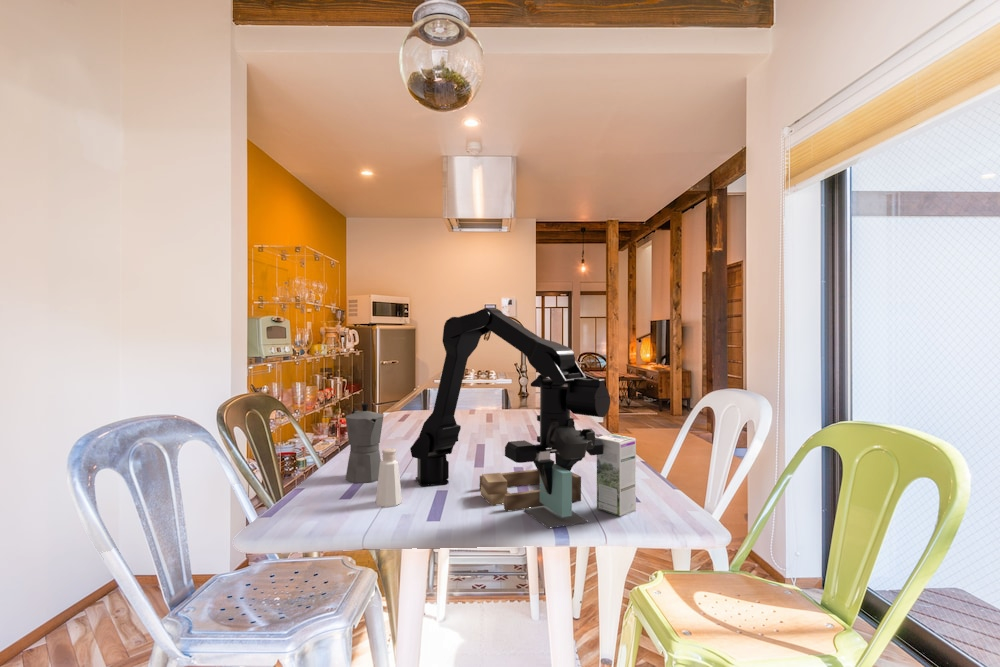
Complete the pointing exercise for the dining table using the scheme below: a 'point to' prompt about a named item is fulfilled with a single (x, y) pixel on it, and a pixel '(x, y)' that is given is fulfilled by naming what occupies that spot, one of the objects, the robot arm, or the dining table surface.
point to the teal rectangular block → (558, 492)
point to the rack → (531, 497)
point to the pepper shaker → (388, 480)
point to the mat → (553, 517)
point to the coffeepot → (364, 445)
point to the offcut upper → (494, 483)
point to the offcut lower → (493, 497)
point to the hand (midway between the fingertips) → (554, 493)
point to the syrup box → (617, 475)
